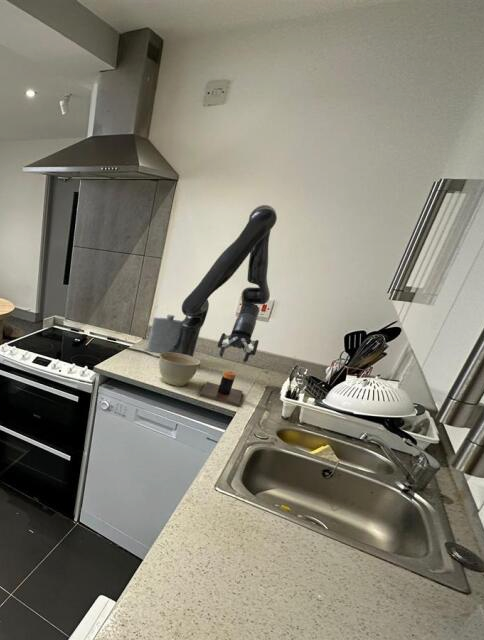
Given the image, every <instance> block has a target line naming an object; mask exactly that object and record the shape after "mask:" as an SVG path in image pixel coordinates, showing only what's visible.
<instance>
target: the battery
mask: <svg viewBox="0 0 484 640" xmlns="http://www.w3.org/2000/svg"><path fill="white" fill-rule="evenodd" d="M221 376H222V377H221V380H220V383H219V385H220V386H219V389H218V392H219V393H221V394H224V395H229V394H230V391H231V388H233V385H234V382H235V379H236V376H237V373H236V372H235V371H232V370H224V371H223V372H222V375H221Z"/></svg>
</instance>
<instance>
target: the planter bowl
mask: <svg viewBox="0 0 484 640" xmlns="http://www.w3.org/2000/svg"><path fill="white" fill-rule="evenodd" d="M159 356H160V358H159V361H158V368H159V373H160V375H161V377H162V378H161V379H162V381H163V382H164V383H166V384H168V385H171V386H176V387H177V386H178V387H180V386H181V387H183V386H185V385H186V384H187V382H189V381H190V380H192V378H194V376H195V374H196V373H197V371H198V369H199V366H200V364H201V361H200V360H199V359H198V358H196V357H194V356H193V357H191V356H188V355H184V354H179V353H171V352H167V353H159Z"/></svg>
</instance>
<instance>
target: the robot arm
mask: <svg viewBox="0 0 484 640" xmlns="http://www.w3.org/2000/svg"><path fill="white" fill-rule="evenodd" d="M251 211H252V212H250V214H249V217H248V221H247V223H246V225H245V227H244V228H243V230H242V231H241V232H240V234H239V235H238V237H237V238H236V239H235V240H234V241H233V242H232V243H231V244H230V245H229V246H228V247H227V248H226V249H225V250H223V252H222V253H220V255H219V256H218V258H217V259H216V260H215V262H214V263H213V264H212V266H211V267H210V269H209V270H208V271H207V272H206V274H205V275H204V276H203V278H202V279H201V280H200V282H199V283H198V285H197V286H196V287H195V288H194V289H193V290H192V291H191V292H190V294H189V295H187V297H186V298H185V299H184V300H183V302H182V305H181V312H182V314H183V316H185V318H183V320H181V321H182V322H181V324H180V327H179V331H178V335H177V339H176V343H175V344H174V347H173V348H172V349H171V350H170V351H168V352H171V353H179V354H184V355H188V356H191V357H194V354H195V350H196V347H197V344H198V340H199V336H200V332H201V329H202V327H203V326H204V323H205V321H206V318H207V315H208V311H209V307H210V302H209V300H208V299H209V298H210V297H211V295H212V294H214V292H216V291H217V290H218V289H220V288H221V287H222V286H224V285H225V284H226V283H227V282H228V281H230V279H231V278H232V277H233V276H234V274H235V273H237V271H238V270H239V268H240V267H241V266H242V265H243V263H244V262H245V260H246V259H247V258H248V256H249V258H248V266H247V278H246V280H247V282H248V283H249V284H253V285H256V287H254V286H252V287H251V286H248V287H245V288H243V290H242V292H241V295H240V296H241V297H240V298H241V299H240V300H241V306H240V307H241V308H240V310H239V313H238V316H237V318H236V320H235V321H234V323H233V327H232V329H231V330H232V331H231V332H230V334H228V335H227V334H226V333H225V332H223V333H221V335H220V338H219V340H218V342H217V346H216V347H217V348H220V350H219V354H218V355H219V357H220V358H223V356H224V353H225V350H226V349H229V348H231V347H232V348H237V349H239V350H240V349H242V350H243V352H244V353H245V355H244V357H243V360H242V363H244V364H245V363H247V362H248V361H249V357H250V356H256V353H257V350H258V346H259V340H258V339H256V340H252V337H253V333H254V330H255V329H256V328H255V327H256V324H257V320H258V317H259V314H260V311H261V310H260V306H259V305H265V304H267V303H268V302H269V300H270V297H271V292H270V288H269V284H268V268H269V244H270V243H269V242H270V235H271V230H272V229H273V228H274V227H275V225H276V223H277V219H278V215H277V212H276V210H275V208H273V207H272V206H271V205H268V204H262V205H259V206H257V207H256V208H254V209H253V210H251ZM226 340H228V341H226ZM224 341H226V342H225V343H223V342H224ZM249 345H251V346H252V350H251V349H250V347H249ZM116 347H118V348H119V347H122V348H125V349H127V350H132V351H135V352H139V353H144V354H147V355H148V356H151V357H153V358H154V357H155V358H159V359H160V355H154V354H152V353H149V352H147V351H144V350H140V349H137V348H131V347H128V346H126V345H123V344H118V345H116ZM164 353H167V352H164Z"/></svg>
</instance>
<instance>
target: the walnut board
mask: <svg viewBox="0 0 484 640" xmlns="http://www.w3.org/2000/svg"><path fill="white" fill-rule="evenodd" d="M219 386H220V384H217V383H214V382H210V381H206V382H205V384H204V386H203V388H202V390H201V391H200V393H199V397H203V398H205V399H210V400H213V401H216V402H220V403H224V404H227V405H231V406H234V407H239V405H240V402H241V398H242V395H243V390H241V389H237V388H234V387H232V388H231V391H230V394H229V395H224V394H221V393H219V392H218V389H219Z"/></svg>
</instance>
